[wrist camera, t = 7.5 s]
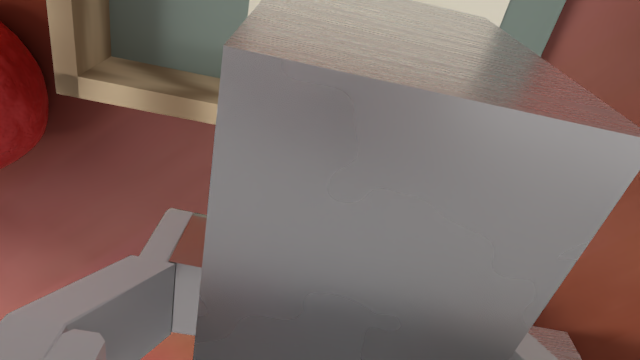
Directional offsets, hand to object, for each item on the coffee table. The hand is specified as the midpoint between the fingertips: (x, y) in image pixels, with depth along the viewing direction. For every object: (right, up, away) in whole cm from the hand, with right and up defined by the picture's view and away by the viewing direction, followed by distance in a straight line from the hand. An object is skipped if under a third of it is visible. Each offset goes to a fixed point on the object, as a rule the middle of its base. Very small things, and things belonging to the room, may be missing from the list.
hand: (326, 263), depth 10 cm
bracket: (+3, 0, +2) cm, 4 cm away
